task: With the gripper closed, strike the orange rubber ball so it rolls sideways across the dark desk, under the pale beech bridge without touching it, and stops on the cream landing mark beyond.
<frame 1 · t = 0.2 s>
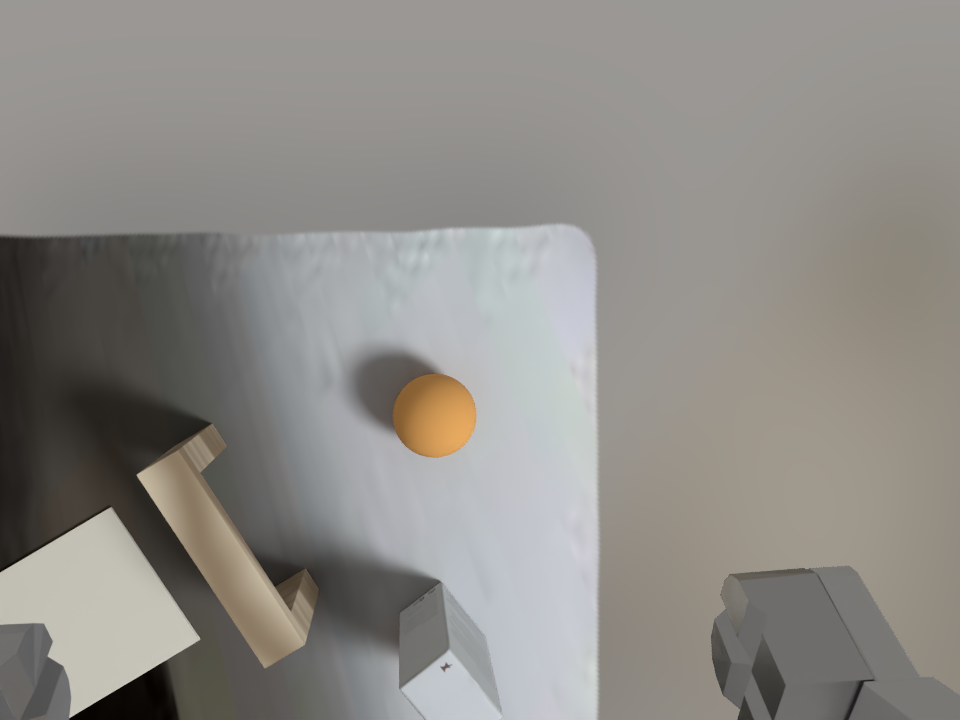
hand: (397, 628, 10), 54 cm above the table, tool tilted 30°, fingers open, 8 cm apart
ball: (434, 415, 62), on the table
landing mark: (86, 615, 64), on the table
bridge: (249, 518, 64), on the table
skincare box: (443, 624, 67), on the table
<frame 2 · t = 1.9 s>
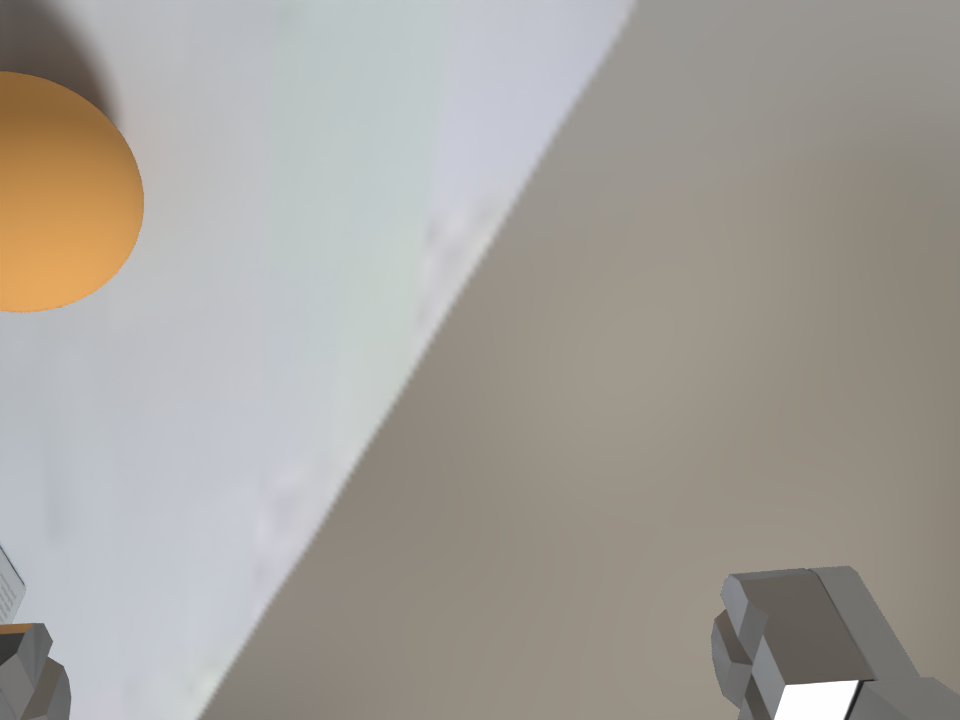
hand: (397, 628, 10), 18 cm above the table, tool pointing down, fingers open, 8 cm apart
ball: (17, 194, 22), on the table
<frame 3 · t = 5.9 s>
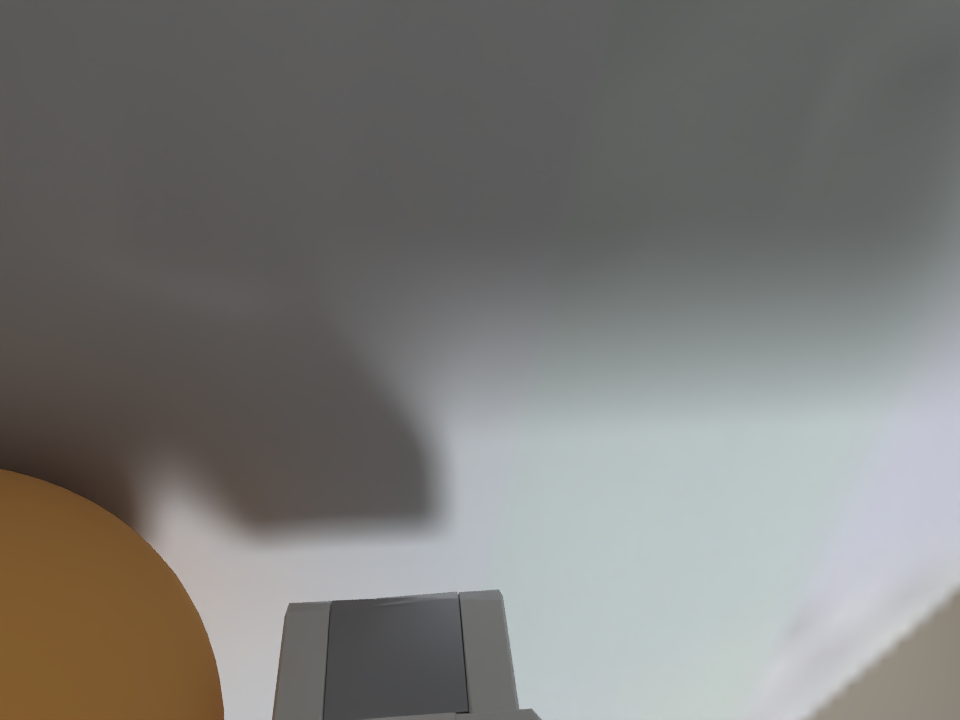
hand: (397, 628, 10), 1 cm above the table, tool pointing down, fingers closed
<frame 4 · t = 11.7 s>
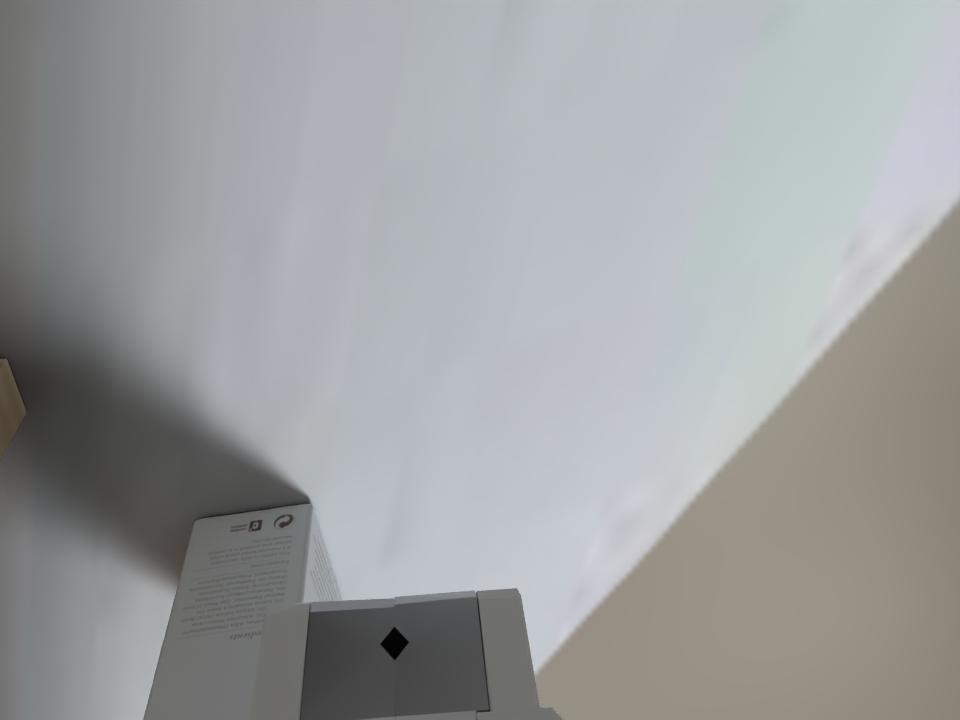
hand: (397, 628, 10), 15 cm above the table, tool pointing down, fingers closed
skincare box: (274, 563, 31), on the table
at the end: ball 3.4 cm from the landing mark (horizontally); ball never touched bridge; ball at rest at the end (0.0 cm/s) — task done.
